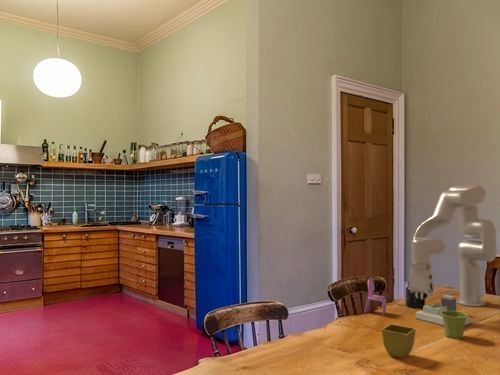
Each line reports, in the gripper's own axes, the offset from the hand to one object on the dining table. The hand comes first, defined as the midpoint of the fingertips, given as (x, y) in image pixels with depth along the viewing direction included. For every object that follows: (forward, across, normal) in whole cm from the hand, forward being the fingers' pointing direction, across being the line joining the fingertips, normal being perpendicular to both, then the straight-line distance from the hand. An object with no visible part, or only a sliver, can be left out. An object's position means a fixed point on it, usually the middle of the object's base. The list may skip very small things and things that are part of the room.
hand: (420, 307), depth 193 cm
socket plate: (+4, -10, 0) cm, 11 cm away
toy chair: (+4, +16, +12) cm, 20 cm away
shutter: (+1, -7, 0) cm, 7 cm away
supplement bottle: (+4, +12, -12) cm, 17 cm away
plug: (+4, -5, -14) cm, 15 cm away
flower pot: (+4, -23, +49) cm, 54 cm away
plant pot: (+4, -23, +15) cm, 28 cm away
